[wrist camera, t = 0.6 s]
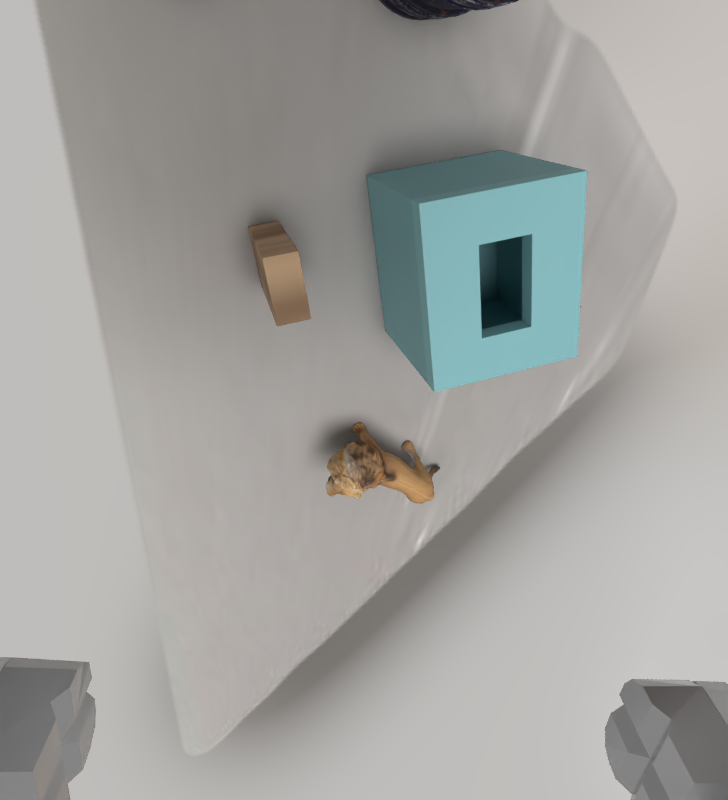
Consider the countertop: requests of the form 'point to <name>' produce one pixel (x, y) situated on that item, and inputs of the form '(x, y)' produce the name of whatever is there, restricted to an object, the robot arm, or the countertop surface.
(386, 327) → the money box
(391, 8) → the storage jar
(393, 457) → the lion figurine
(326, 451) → the countertop surface
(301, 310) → the block
